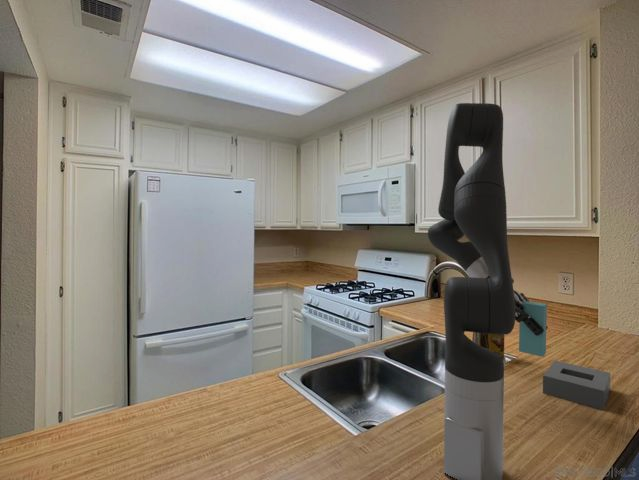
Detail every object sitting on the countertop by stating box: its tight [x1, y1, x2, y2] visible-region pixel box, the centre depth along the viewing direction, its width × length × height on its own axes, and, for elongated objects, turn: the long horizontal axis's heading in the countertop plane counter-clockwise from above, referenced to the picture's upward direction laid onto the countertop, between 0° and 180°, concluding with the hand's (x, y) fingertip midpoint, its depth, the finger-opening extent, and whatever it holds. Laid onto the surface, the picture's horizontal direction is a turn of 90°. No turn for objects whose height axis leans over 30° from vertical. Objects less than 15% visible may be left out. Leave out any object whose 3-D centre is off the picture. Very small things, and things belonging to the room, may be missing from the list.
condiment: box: [488, 334, 506, 364], centre depth 111 cm, size 7×8×12 cm
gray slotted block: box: [542, 360, 611, 411], centre depth 87 cm, size 14×12×4 cm
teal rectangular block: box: [518, 301, 548, 358], centre depth 82 cm, size 3×5×12 cm, turn 45°
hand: (542, 331), depth 81 cm, fingers closed on teal rectangular block, 3 cm apart
